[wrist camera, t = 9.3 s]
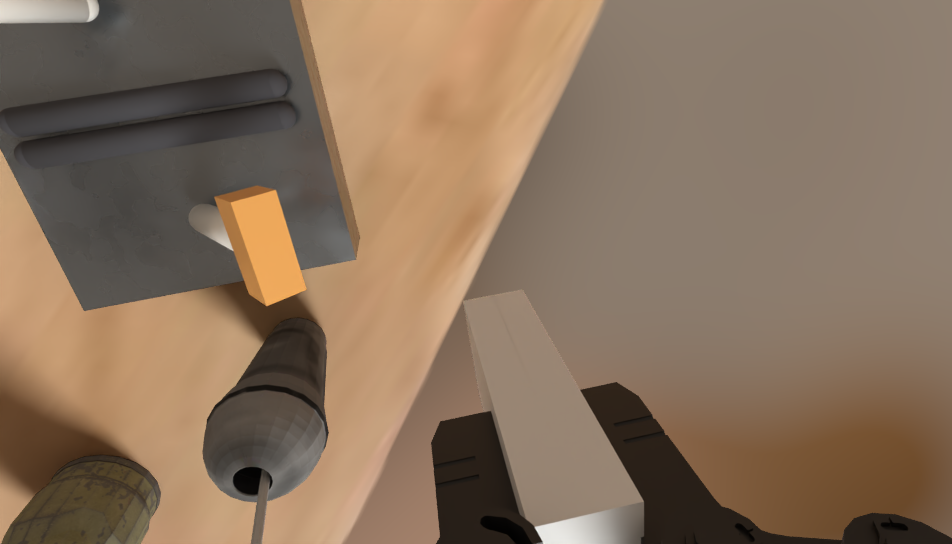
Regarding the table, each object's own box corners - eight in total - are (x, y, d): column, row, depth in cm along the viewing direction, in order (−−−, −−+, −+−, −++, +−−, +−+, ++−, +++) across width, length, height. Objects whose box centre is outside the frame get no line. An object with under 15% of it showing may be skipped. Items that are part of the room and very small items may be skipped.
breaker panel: (121, 281, 37) (83, 310, 33) (-40, -61, 29) (-121, -87, 24) (359, 237, 39) (356, 259, 34) (276, -99, 30) (256, -129, 26)
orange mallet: (199, 259, 31) (266, 306, 23) (168, 181, 29) (230, 202, 21) (231, 248, 32) (306, 289, 24) (204, 172, 30) (275, 189, 22)
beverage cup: (267, 290, 39) (162, 481, 21) (355, 318, 42) (330, 514, 23) (241, 364, 41) (125, 597, 23) (326, 388, 44) (282, 617, 25)
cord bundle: (34, 168, 29) (15, 173, 28) (4, 108, 28) (-17, 111, 26) (301, 125, 31) (297, 128, 29) (285, 66, 29) (280, 66, 28)
